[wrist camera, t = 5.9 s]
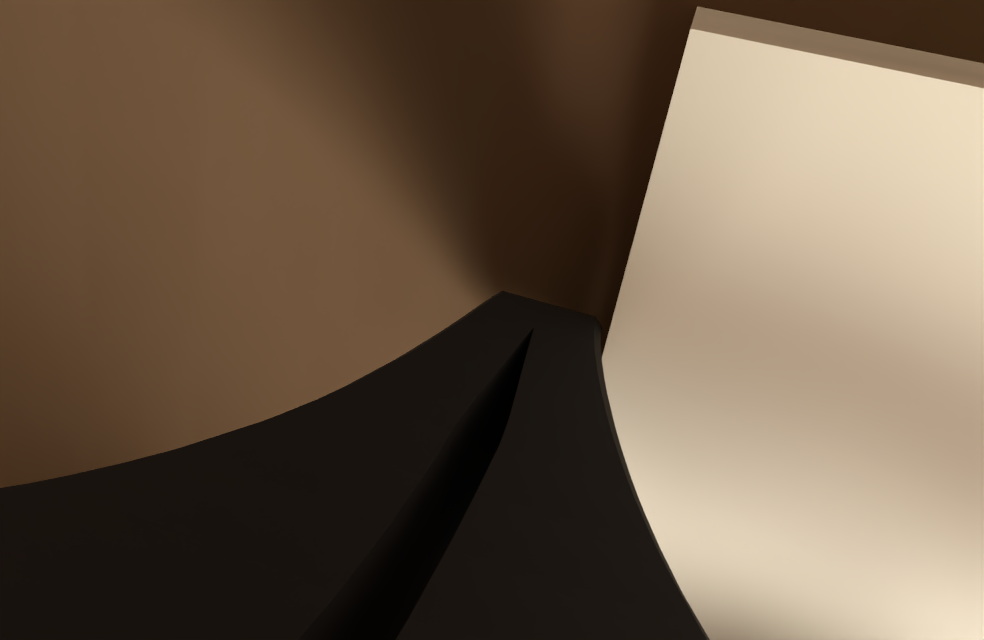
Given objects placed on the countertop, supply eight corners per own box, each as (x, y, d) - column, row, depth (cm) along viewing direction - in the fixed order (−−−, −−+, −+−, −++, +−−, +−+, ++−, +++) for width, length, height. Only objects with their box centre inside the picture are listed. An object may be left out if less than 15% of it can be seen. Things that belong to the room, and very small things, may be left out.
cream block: (1139, 673, 12) (1205, 805, 10) (564, 497, 13) (539, 589, 11) (1621, 181, 8) (1874, 269, 6) (699, -1, 9) (690, 28, 7)
